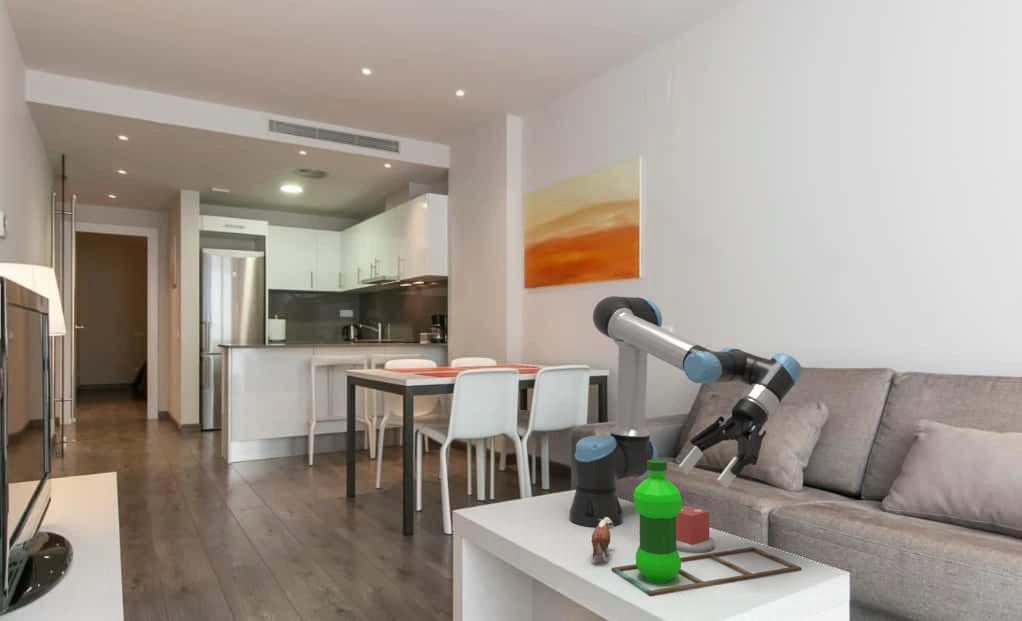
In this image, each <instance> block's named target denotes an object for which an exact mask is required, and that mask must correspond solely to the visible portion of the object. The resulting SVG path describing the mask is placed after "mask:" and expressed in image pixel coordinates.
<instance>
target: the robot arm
mask: <svg viewBox="0 0 1022 621" xmlns="http://www.w3.org/2000/svg"><path fill="white" fill-rule="evenodd" d="M592 313H593V314H592V322H593V324H594V326H595V328H596V330H597V331H598V332H599V333H600V334H601V335H604V336H606V337H608V338H610V339H611V340H613V342H614V343H615V344H616V345H617V347H618V358H617V359H618V361H617V364H618V365H617V386H616V387H617V391H616V413H615V414H616V416H615V418H616V419H615V426H614V427H613V428H612V429H611V430H610V435H606V434H601V435H600V434H599V435H590V436H586V437H582V438H581V439H578V441H577V442H576V445H575V453H574V457H575V462H574V463H575V492H574V497H573V499H572V502H571V506H570V509H569V521H571V522H572V523H574V524H577V525H579V526H584V527H585V526H586V527H591V528H594V527H595V528H596V527H597V526H598V524H599V523H600V522H599V521H598V519H602V520H604V518H605V517H608V518H609V519H610V520H611V521H612V522H613V527H614V526H618V525H620V524H622V523H623V517H624V516H623V515H624V514H623V510H622V507H621V503H620V501H619V498H618V493H617V480H622V479H623V480H624V479H629V478H639V477H641V476H645V475H647V474H650V470H648V469H647V460H653V459H657V460H658V452H657V451H658V450H657V447H656V446H655V443H654V441H653V440H652V439H651V438H650V437H651V436H650V432H649V430H647V428H646V406H647V404H646V402H647V401H646V400H647V380H648V378H647V377H648V376H647V375H648V354H649V355H650V356H653V357H655V358H657V359H659V360H661V361H663V362H665V363H667V364H668V365H671V366H673V367H675V368H677V369H679V370H681V371H683V372H684V374H685V376H686V377H687V378H688V380H690V381H691V382H692V383H695V384H703V385H709V384H714V383H715V384H717V383H735V382H736V383H737V382H738V383H743V384H745V385H749V387H748V388H747V389H746V390H745V392H744V393H743V394H742V396H741V397H740V398H741V399H739V400H738V401H737V402H736V404H735V405H734V406H733V407H732V409H731V416H730V417H729V418H728V419H725V418H724V416H723V415H721V416H719V417H718V418H717V419H716V420H715V421H714V422H713V423H712V424H710V425H709V426H707V427H706V428H705V429H703V430H702V431H701V432H699V433H698V434H696V435H695V436H694V437H692V438H690V441H689V442H690V443H691V444H692V445H693V447H692V448H690V450H689V452H688V453H687V454H686V456H685V457H684V459H683V460H682V461H681V463H680V464H679V465H678V467H679V469H680V470H681V471H682V472H683V473H684V474H685V475H689V473H690V472H691V471H692V470H693V468H694V467H695V466H696V464H698V461H699V460H700V459H701V458H702V456H703V455H704V452H705V451H706V450H708V449H710V448H712V447H713V446H716V445H717V444H720V443H721V442H723V441H725V442H728V441H729V440H731V441H732V440H733V441H736V442H737V454H736V456H733V458H732V459H731V460H730V462H729V463H728V464H727V466H726V467H725V469H724V470H723V471H722V472H721V474H720V475H719V476H718V477H717V481H718V482H719V484H720V485H721V486H722V487H723V488H724V489H727V488H728V487H729V486H730V485H731V484H732V482H733V481H734V479H735V478H736V477H737V476H739V475H740V473H741V472H742V471H743V469H744V468H745V467H746V466H749V465H750V464H751V465H752V466H755V465H757V463H758V460H759V457H760V456H759V455H760V452H761V448H762V444H763V443H762V442H763V438H764V437H765V435H767V430H766V429H765V428H764V427H763V426H764V425H765V424H766V422H767V421H768V419H769V418H770V417H771V415H772V414H773V413H774V411H775V410H776V409H777V408H778V406H779V405H780V404H781V402H782V401H783V399H784V398H785V397H786V395H787V394H788V393H789V392H790V391H791V390H792V388H793V387H794V386H795V385H796V383H797V381H798V380H799V378H800V377H801V375H802V372H803V369H802V366H801V364H800V362H799V361H798V360H797V359H795V358H794V357H793V356H792V355H789V354H787V353H784V352H779V353H775V354H774V355H773V356H772V357H771V358H770V359H768V358H765V357H761V356H758V355H755V354H752V353H751V352H750V353H749V352H746V351H744V350H742V349H739V348H734V347H729V346H728V347H723V349H721V350H720V351H713V350H711V349H709V348H706V347H705V346H701V345H700V344H698V343H695V342H693V341H691V340H689V339H687V338H685V337H682V336H681V335H678V334H676V333H673V332H671V331H669V330H667V329H665V328H663V327H662V324H663V319H662V317H663V316H662V313H661V310H660V308H659V307H658V305H657V304H656V303H655V302H654V301H653V300H650V299H648V298H643V297H639V296H637V297H633V296H632V297H631V296H630V297H629V296H617V295H616V296H615V295H614V296H612V295H611V296H607V297H605V298H603V299H601V300H600V301H599V302H598V303H597V304H596V305H595V307H594V309H593V312H592Z"/></svg>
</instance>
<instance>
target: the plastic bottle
mask: <svg viewBox="0 0 1022 621" xmlns="http://www.w3.org/2000/svg"><path fill="white" fill-rule="evenodd" d="M647 469H648V470H650V472H649V476H647V478H646V479H644V480H643V481H642V482H641V483H639V485H637V486H636V487H635V489H634V492H633V504H634V509H635V511H636V512H637V513H638V514H639V545H638V548H637V549H636V552H635V564H636V565H637V568H638V569H637V570H638V571H639V572H640V574H641V575H642V576H644V577H645V578H646V580H647V581H650V582H652V583H657V584H658V583H659V584H662V583H668V582H670V581H671V580H672V579H673V578H675V577H676V576H677V575H678V574H679V571H680V569H681V568H682V562H681V560H680V558H681V557H680V555H679V551H677V549H676V516H677V515H678V514H679V513H680V512H681V508H682V507H683V499H682V496H681V493H680V491H679V489H678V488H677V487H676V486H675V485H674V484H673V483H672V482H671V481H670V480H668V479H667V478H666V477H665V476H666V475H665V472H666V471H668V461H667V460H664V459H658V458H657V459H653V460H647Z"/></svg>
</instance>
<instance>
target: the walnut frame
mask: <svg viewBox="0 0 1022 621" xmlns="http://www.w3.org/2000/svg"><path fill="white" fill-rule="evenodd" d="M748 552H754V553H756V554H759V555H761V556H763V557H764V558H767V559H770V560H772V561H774V562H777V563H778V564H779V563H780V564H781V565H784V566H786V567H782V568H777V569H771V570H770V569H769V570H766V571H759V572H754V573H753V572H750V571H748V570H746V569H745V568H742V567H739V566H738V565H735V564H733V563H731V562H729V561H726V560H725V559H723V558H721V557H722V556H729V555H736V554H742V553H748ZM703 559H711V560H713V561H715V562H717V563H719V564H722V565H724V566H726V567H728V568H730V569H731V570H734V571H736V572H738V573H740V574H741V575H735V576H729V577H723V578H718V579H711V580H707V581H703V580H702V579H700V578H698V577H696V576H694V575H693V574H690V572H687V571H685V570H683V569H681V568H680V571H679V573H678V574H679V575H681V576H683V577H685V578H686V579H688V580H690V581H692V582H693V583H688V584H681V585H675V586H669V587H663V588H658V589H650V588H648V587H647V586H645V585H644V584H642V583H641V582H639V581H637V580H636V579H634V578H633V577H631V576H629V575H628V574H627V573H625V572H624V571H632V570H636V569H637V570H638V568H637V565H636V563H635V564H630V565H629V564H628V565H622V566H617V567H616V566H614V567H611V571H612V572H614V574H616V575H617V576H619V577H621V578H622V579H623V580H625V581H627V582H629V583H630V584H631V585H633V586H634V587H636V588H637V589H638V590H640V591H641V592H643V593H645V594H647V595H648V596H650V597H652V596H658V595H664V594H671V593H675V592H681V591H688V590H692V589H699V588H705V587H710V586H711V587H712V586H717V585H721V584H722V585H723V584H728V583H734V582H735V583H736V582H740V581H744V580H751V579H758V578H763V577H768V576H770V577H771V576H773V575H774V576H775V575H781V574H786V573H791V572H792V573H793V572H798V571H802V567H801V566H799V565H796V564H795V563H792V562H790V561H787V560H785V559H783V558H780V557H778V556H775V555H773V554H770V553H768V552H766V551H763V550H762V549H759V548H756V547H753V546H750V547H742V548H736V549H731V550H730V549H729V550H724V551H718V552H717V551H715V552H710V553H709V552H708V553H703V554H702V553H701V554H697V555H690V556H689V555H688V556H682V557H680V560H681V563H682V562H683V563H685V562H690V561H697V560H703Z"/></svg>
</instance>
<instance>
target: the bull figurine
mask: <svg viewBox="0 0 1022 621" xmlns="http://www.w3.org/2000/svg"><path fill="white" fill-rule="evenodd" d="M598 521H599V522H600V523H599V524H598V526H597V527H595V529H594V530H593V532H592V534H591V545H592V558H593V559H592V561H591V562H592V564H594V565H596V564H597V559H596V557H597V555H598V554H601V556H602V559H603V561H604V563H609V560H608V557H609V556H610V554H609V545H610V543H611V531H610V530H613V529H614V526H613V522H612V521H611V520H610V519H609V518H608V517H605V518H604V520H602V519H598Z"/></svg>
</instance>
